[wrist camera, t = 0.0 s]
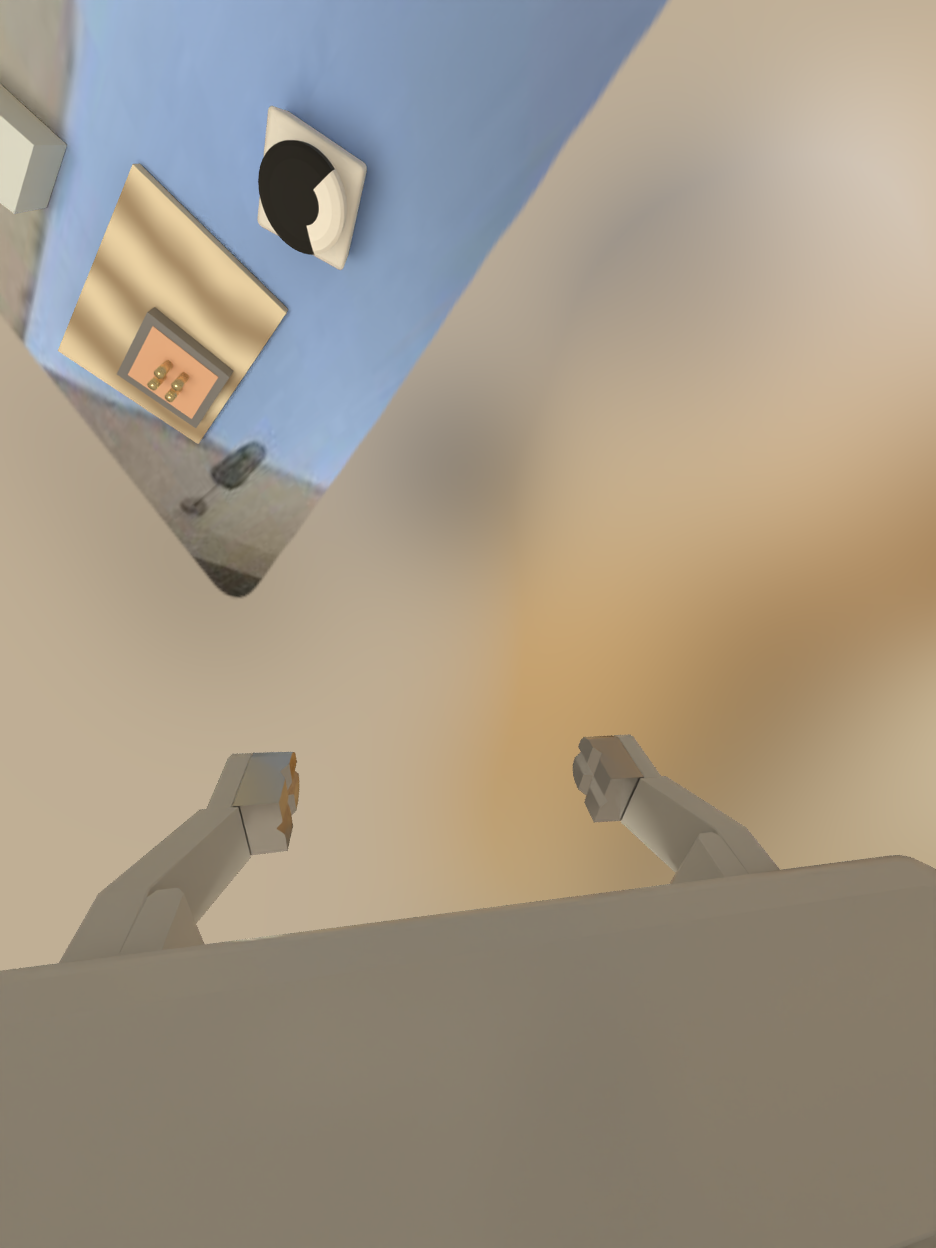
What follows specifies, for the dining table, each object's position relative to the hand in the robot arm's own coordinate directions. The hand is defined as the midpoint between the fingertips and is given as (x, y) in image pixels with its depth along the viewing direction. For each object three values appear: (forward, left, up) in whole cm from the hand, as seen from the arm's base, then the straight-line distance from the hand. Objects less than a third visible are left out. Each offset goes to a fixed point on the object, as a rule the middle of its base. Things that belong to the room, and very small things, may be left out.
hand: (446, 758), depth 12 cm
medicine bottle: (-1, -11, -52) cm, 53 cm away
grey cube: (+15, -29, -52) cm, 62 cm away
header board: (+19, -15, -52) cm, 58 cm away
